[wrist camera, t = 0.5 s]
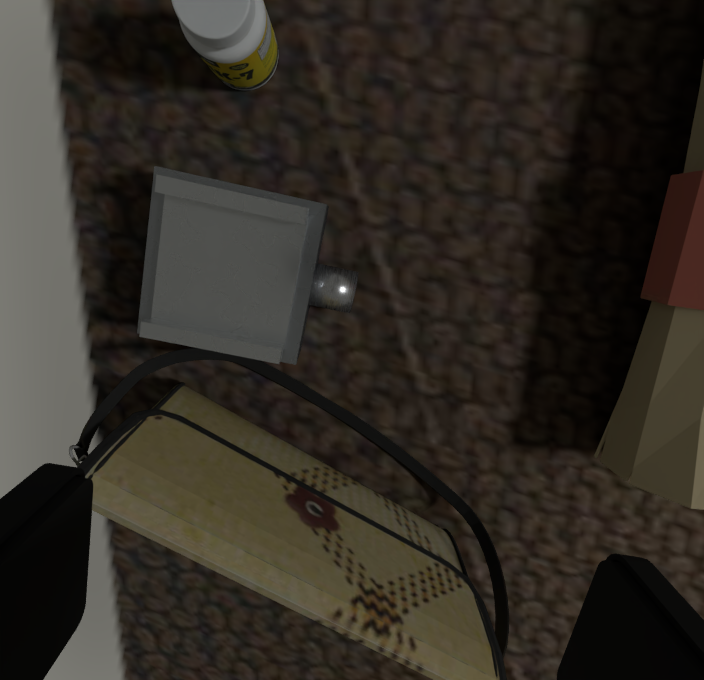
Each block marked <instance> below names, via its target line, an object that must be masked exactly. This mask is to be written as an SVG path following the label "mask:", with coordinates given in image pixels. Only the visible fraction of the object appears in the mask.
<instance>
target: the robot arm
mask: <svg viewBox="0 0 704 680" xmlns="http://www.w3.org/2000/svg"><path fill="white" fill-rule="evenodd" d="M92 501H93V481H92V480H91V479H89V478H85V473H84V470H83V469H81V468H76V467H70V466H64V465H57V464H51V463H47V464H44V465H42V466H41V467H39V468H38V469H37V470H36V471H34V472H33V473H32V474H31V475H29V476H28V477H27V478H26V479H24V480H23V481H22V482H21V483H20V484H18V485H17V486H16V487H15V488H13V489H12V490H11V491H10V492H8V493H7V494H6V495H5V496H3V497H2V498H1V499H0V680H43V679H44V677H45V676H46V674H47V673H48V671H49V670H50V668H51V667H52V665H53V664H54V662H55V661H56V659H57V658H58V656H59V655H60V653H61V652H62V650H63V649H64V647H65V646H66V644H67V642H68V641H69V639H70V638H71V636H72V635H73V633H74V632H75V630H76V628H77V627H78V625H79V623H80V621H81V619H82V616H83V613H84V609H85V604H86V592H87V576H88V561H89V546H90V530H91V516H92ZM557 680H704V620H703V619H702V618H701V617H700V616H699V614H698V613H697V612H696V611H695V610H694V609H693V608H692V607H691V606H690V605H689V603H688V602H687V601H686V600H685V599H684V598H683V597H682V596H681V595H680V594H679V592H678V591H677V590H676V589H675V588H674V587H673V586H672V585H671V584H670V583H669V582H668V580H667V579H666V578H665V577H664V576H663V575H662V574H661V573H660V572H659V571H658V569H657V568H656V567H655V566H654V565H653V564H652V563H651V562H650V561H648V560H647V559H644V558H640V557H634V556H627V555H621V554H611V555H610V556H609V557H607V559H606V560H604V561H602V562H600V563H599V565H598V567H597V570H596V572H595V575H594V577H593V580H592V583H591V585H590V588H589V590H588V593H587V596H586V598H585V601H584V603H583V606H582V609H581V611H580V614H579V616H578V619H577V622H576V624H575V627H574V629H573V632H572V635H571V637H570V640H569V642H568V645H567V648H566V650H565V653H564V656H563V658H562V661H561V663H560V666H559V669H558V672H557Z"/></svg>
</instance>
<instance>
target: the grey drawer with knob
mask: <svg viewBox="0 0 704 680" xmlns="http://www.w3.org/2000/svg"><path fill="white" fill-rule="evenodd" d="M328 208H329V206H328V205H327V204H322V203H318V202H313V201H309V200H304V199H300V198H296V197H291V196H287V195H282V194H278V193H273V192H269V191H264V190H260V189H255V188H251V187H246V186H242V185H237V184H233V183H228V182H224V181H219V180H215V179H211V178H206V177H202V176H197V175H193V174H188V173H184V172H179V171H175V170H170V169H166V168H161V167H157V166H154V175H153V185H152V195H151V204H150V214H149V223H148V233H147V243H146V252H145V262H144V272H143V281H142V291H141V300H140V310H139V320H138V329H137V333H138V334H140V336H139V337H144V338H149V339H154V340H159V341H164V342H169V343H175V344H180V345H185V346H190V347H195V348H200V349H205V350H210V351H215V352H220V353H225V354H230V355H235V356H241V357H246V358H251V359H256V360H261V361H266V362H271V363H276V364H279V363H280V362H285V363H290V364H295V365H296V363H297V360H298V357H299V354H300V351H301V347H302V342H303V337H304V331H305V326H306V321H307V316H308V311H309V306H310V305H312V306H317V307H322V308H327V309H331V310H336V311H341V312H346V313H350V311H351V308H352V304H353V300H354V295H355V290H356V285H357V279H358V272H355V271H350V270H346V269H341V268H336V267H332V266H327V265H322V264H318V259H319V254H320V249H321V244H322V239H323V234H324V228H325V223H326V218H327V213H328Z"/></svg>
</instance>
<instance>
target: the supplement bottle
mask: <svg viewBox="0 0 704 680" xmlns="http://www.w3.org/2000/svg"><path fill="white" fill-rule="evenodd" d="M172 5H173V7H174V10H175V13H176V15H177V16H178V18H179V22H180V26H181V29H182V31H183V33H184V36H185V37H186V39H187V41H188V42H189V44H190V45H191V46H192V48H193V49H194V50H195V51H196V52H197V53H198V55H199V56H200V57H201V58H202V59H203V61H204V62H205V63H206V64H207V65H208V67H209V68H210V69H211V70H212V71H213V72H214V74H215V75H216V76H217V77H218V78H219V79H220V80H221V81H222V82H223V83H225V84H226V85H228V86H230V87H232V88H234V89H238V90H253V89H257V88H259V87H261V86H263V85H264V84H265V83H266V82H268V80H269V79H270V78H271V77H272V75H273V74H274V72H275V69H276V67H277V63H278V55H279V53H278V44H277V40H276V37H275V34H274V31H273V28H272V25H271V22H270V19H269V16H268V13H267V10H266V8H265V5H264V2H263V0H172Z"/></svg>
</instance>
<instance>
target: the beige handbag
mask: <svg viewBox="0 0 704 680" xmlns="http://www.w3.org/2000/svg"><path fill="white" fill-rule="evenodd" d="M209 359H211V360H225V361H231V362H235V363H238V364H240V365H243V366H245V367H247V368H249V369H251V370H253V371H255V372H257V373H259V374H261V375H263V376H265V377H267V378H269V379H271V380H272V381H274V382H276V383H278V384H280V385H282V386H283V387H285V388H287V389H289V390H291V391H293V392H294V393H296V394H298V395H300V396H301V397H303V398H305V399H307V400H308V401H310V402H312V403H314V404H315V405H317V406H319V407H320V408H322V409H324V410H325V411H327V412H329V413H330V414H332V415H334V416H335V417H337V418H338V419H340V420H342V421H343V422H345V423H346V424H348V425H349V426H351V427H352V428H354V429H355V430H357V431H358V432H360V433H361V434H363V435H364V436H365V437H367V438H368V439H370V440H371V441H373V442H374V443H375V444H377V445H378V446H380V447H381V448H382V449H384V450H385V451H386V452H388V453H389V454H390V455H392V456H393V457H394V458H396V459H397V460H398V461H400V462H401V463H402V464H403V465H405V466H406V467H407V468H408V469H410V470H411V471H412V472H413V473H415V474H416V475H417V476H418V477H420V478H421V479H422V480H423V481H424V482H426V483H427V484H428V485H429V486H430V487H432V488H433V489H434V490H435V491H436V492H437V493H439V494H440V495H441V496H442V497H443V498H444V499H445V500H447V501H448V502H449V503H450V504H451V505H452V506H453V507H454V508H455V509H456V510H457V511H458V512H459V513H460V514H461V515H462V516H463V517H464V519H465V520H466V521H467V523H468V524H469V525H470V527H471V528H472V530H473V532H474V534H475V535H476V537H477V539H478V541H479V543H480V546H481V548H482V550H483V553H484V556H485V559H486V562H487V565H488V568H489V572H490V576H491V581H492V586H493V592H494V599H495V614H496V620H495V632H494V629H493V626H492V623H491V621H490V618H489V615H488V612H487V609H486V607H485V604H484V602H483V600H482V599H481V597H480V596H479V594H478V592H477V591H476V589H475V588H474V586H473V584H472V583H471V581H470V580H469V578H468V575H467V572H466V569H465V566H464V563H463V560H462V557H461V554H460V552H459V549H458V546H457V544H456V542H455V540H454V538H453V536H452V535H451V533H450V532H449V531H448V530H447V529H441V528H439V527H437V526H435V525H434V524H432V523H430V522H428V521H426V520H425V519H423V518H421V517H419V516H418V515H416V514H414V513H412V512H410V511H409V510H407V509H405V508H403V507H401V506H400V505H398V504H396V503H394V502H392V501H391V500H389V499H387V498H385V497H383V496H382V495H380V494H378V493H376V492H374V491H373V490H371V489H369V488H367V487H366V486H364V485H362V484H360V483H358V482H357V481H355V480H353V479H351V478H349V477H348V476H346V475H344V474H342V473H340V472H339V471H337V470H335V469H333V468H331V467H330V466H328V465H326V464H324V463H323V462H321V461H319V460H317V459H315V458H314V457H312V456H310V455H308V454H306V453H305V452H303V451H301V450H299V449H297V448H296V447H294V446H292V445H290V444H288V443H287V442H285V441H283V440H281V439H279V438H278V437H276V436H274V435H272V434H271V433H269V432H267V431H265V430H263V429H262V428H260V427H258V426H256V425H254V424H253V423H251V422H249V421H247V420H245V419H244V418H242V417H240V416H238V415H236V414H235V413H233V412H231V411H229V410H228V409H226V408H224V407H222V406H220V405H219V404H217V403H215V402H213V401H211V400H210V399H208V398H206V397H204V396H202V395H201V394H199V393H197V392H195V391H193V390H192V389H190V388H188V387H186V386H185V383H184V382H182V383H178V384H177V385H176V386H175V387H173V388H172V389H171V390H170V391H169V392H168V393H167V394H166V395H165V396H164V397H163V398H162V399H161V400H160V401H159V402H158V403H157V404H156V405H155V406H154V407H153V408H152V409H149V410H145V411H140V412H136V413H133V414H132V415H131V416H130V417H129V418H127V419H126V420H125V421H124V422H123V423H122V424H121V425H119V426H118V427H117V428H116V429H115V430H114V431H113V432H112V433H110V434H109V435H108V436H107V437H106V438H105V439H104V440H103V441H102V442H101V443H100V444H99V445H98V446H97V447H96V448H95V449H94V450H93V451H92V452H91V453H90V454H89V455H88V452H87V451H88V448H89V445H90V442H91V440H92V438H93V436H94V434H95V432H96V430H97V429H98V427H99V425H100V424H101V423H102V421H103V420H104V419H105V417H106V416H107V415H108V414H109V412H110V411H111V410H112V409H113V408H114V407H115V405H116V404H117V403H118V402H119V401H120V400H121V399H122V397H123V396H124V395H125V394H126V393H127V392H128V391H129V390H130V389H131V388H132V387H133V386H134V385H135V384H136V383H137V382H138V381H139V380H140V379H142V378H143V377H145V376H146V375H148V374H150V373H152V372H154V371H156V370H158V369H161V368H163V367H166V366H169V365H172V364H175V363H179V362H185V361H193V360H209ZM73 448H74V450H75V452H76V455H77V457H78V461H77V460H76V459H75V457H74V456H73V453H72V449H73ZM69 454H70V456H71V458H72V460H73V461H74V462H75V463H76V465H77V468H81V469H83V470H84V473H85V478H89V479H91V480H92V481H93V501H92V510H93V511H95V512H97V513H99V514H101V515H103V516H105V517H107V518H109V519H111V520H113V521H115V522H117V523H119V524H121V525H123V526H125V527H127V528H129V529H131V530H133V531H135V532H137V533H139V534H141V535H143V536H145V537H147V538H149V539H151V540H154V541H156V542H158V543H160V544H162V545H164V546H166V547H168V548H170V549H172V550H174V551H176V552H178V553H180V554H182V555H184V556H186V557H188V558H190V559H192V560H194V561H196V562H198V563H200V564H202V565H204V566H206V567H208V568H210V569H212V570H214V571H216V572H218V573H220V574H222V575H224V576H226V577H228V578H230V579H232V580H234V581H236V582H238V583H240V584H242V585H244V586H246V587H248V588H250V589H252V590H254V591H256V592H258V593H260V594H262V595H264V596H266V597H268V598H270V599H272V600H274V601H276V602H278V603H280V604H282V605H284V606H286V607H288V608H290V609H293V610H295V611H297V612H299V613H301V614H303V615H305V616H307V617H309V618H311V619H313V620H315V621H317V622H319V623H321V624H323V625H325V626H327V627H329V628H331V629H333V630H335V631H337V632H339V633H341V634H343V635H345V636H347V637H349V638H351V639H353V640H355V641H357V642H359V643H361V644H363V645H365V646H367V647H369V648H371V649H373V650H375V651H377V652H379V653H381V654H383V655H385V656H387V657H389V658H391V659H393V660H395V661H397V662H399V663H401V664H403V665H405V666H407V667H409V668H411V669H413V670H415V671H417V672H419V673H421V674H423V675H425V676H427V677H429V678H432V679H434V680H507V678H506V671H505V666H504V661H503V658H504V655H505V651H506V648H507V643H508V634H509V609H508V598H507V592H506V586H505V580H504V576H503V573H502V569H501V565H500V562H499V559H498V556H497V553H496V550H495V548H494V545H493V543H492V541H491V539H490V537H489V535H488V533H487V531H486V529H485V528H484V526H483V524H482V523H481V521H480V519H479V518H478V517H477V515H476V514H475V513H474V512H473V510H472V509H471V508H470V507H469V506H468V505H467V504H466V503H465V502H464V501H463V500H462V499H461V498H460V497H459V496H458V495H457V494H456V493H455V492H453V491H452V490H451V489H450V488H449V487H448V486H447V485H445V484H444V483H443V482H442V481H441V480H440V479H438V478H437V477H436V476H435V475H434V474H432V473H431V472H430V471H429V470H428V469H426V468H425V467H424V466H423V465H421V464H420V463H419V462H418V461H417V460H415V459H414V458H413V457H412V456H410V455H409V454H408V453H406V452H405V451H404V450H403V449H401V448H400V447H399V446H397V445H396V444H395V443H393V442H392V441H391V440H389V439H388V438H387V437H385V436H384V435H382V434H381V433H380V432H378V431H377V430H375V429H374V428H373V427H371V426H370V425H368V424H367V423H365V422H364V421H362V420H361V419H359V418H358V417H356V416H355V415H353V414H352V413H350V412H349V411H347V410H345V409H344V408H342V407H340V406H338V405H337V404H335V403H333V402H332V401H330V400H328V399H327V398H325V397H323V396H322V395H320V394H318V393H317V392H315V391H314V390H312V389H310V388H309V387H307V386H305V385H304V384H302V383H300V382H299V381H297V380H295V379H293V378H292V377H290V376H288V375H286V374H284V373H282V372H281V371H279V370H277V369H275V368H273V367H271V366H269V365H268V364H266V363H264V362H262V361H260V360H256V359H251V358H246V357H241V356H235V355H230V354H225V353H220V352H215V351H210V350H205V349H200V348H190V349H182V350H177V351H172V352H169V353H166V354H163V355H160V356H158V357H155V358H153V359H151V360H148V361H146V362H144V363H143V364H141V365H139V366H138V367H136V368H135V369H134V370H132V371H131V372H130V373H129V374H128V375H127V376H126V377H125V378H124V379H123V380H122V381H121V382H120V383H119V384H118V385H117V386H116V387H115V388H114V389H113V390H112V392H111V393H110V394H109V395H108V396H107V397H106V398H105V399H104V400H103V402H102V403H101V404H100V405H99V406H98V407H97V409H96V410H95V411H94V413H93V414H92V415H91V417H90V419H89V420H88V422H87V424H86V425H85V427H84V429H83V431H82V434H81V436H80V439H79V442H78V443H77V444H76V445H72V446H70V448H69ZM80 461H83V462H82V463H81V464H80V463H79V462H80Z"/></svg>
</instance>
